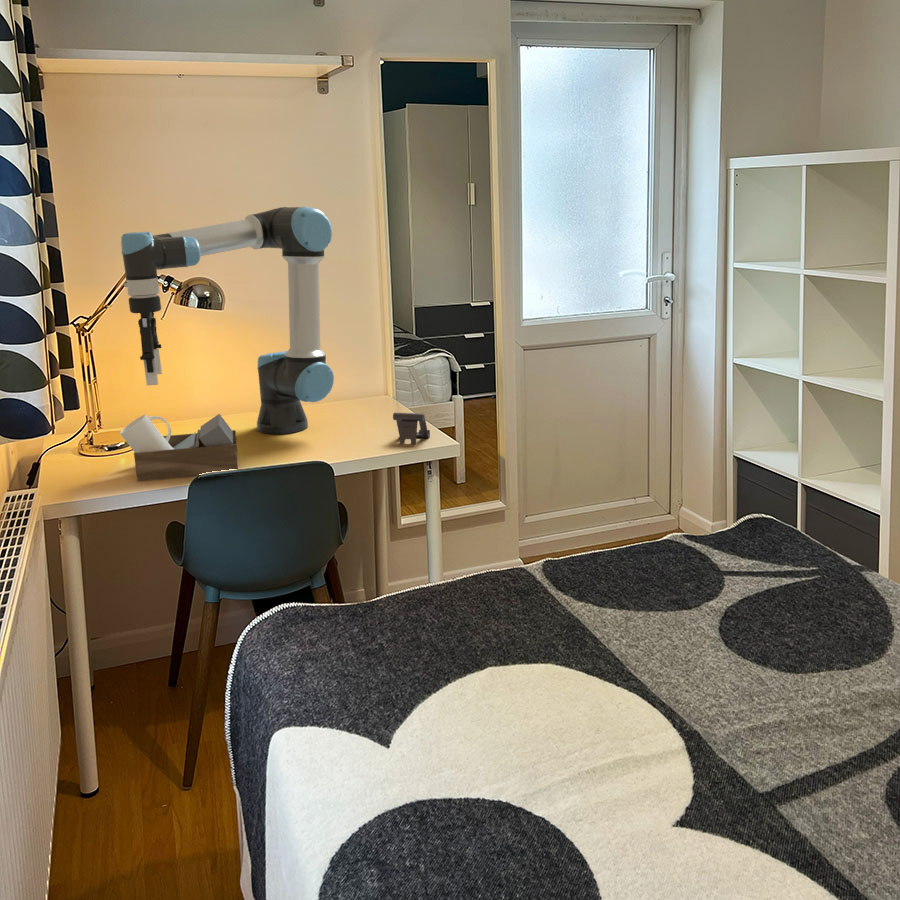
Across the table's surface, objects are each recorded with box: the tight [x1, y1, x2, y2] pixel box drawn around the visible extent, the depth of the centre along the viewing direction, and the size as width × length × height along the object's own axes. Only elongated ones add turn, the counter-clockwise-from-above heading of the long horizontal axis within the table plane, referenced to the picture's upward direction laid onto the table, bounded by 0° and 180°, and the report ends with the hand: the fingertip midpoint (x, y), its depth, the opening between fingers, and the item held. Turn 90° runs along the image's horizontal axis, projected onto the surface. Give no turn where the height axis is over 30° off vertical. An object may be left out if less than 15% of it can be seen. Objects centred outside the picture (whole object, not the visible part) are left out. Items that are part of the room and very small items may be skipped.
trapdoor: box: [173, 413, 233, 449], centre depth 258 cm, size 22×13×6 cm
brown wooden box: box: [133, 429, 239, 482], centre depth 258 cm, size 16×25×8 cm, turn 102°
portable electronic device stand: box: [392, 412, 431, 445], centre depth 278 cm, size 9×8×8 cm
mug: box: [119, 414, 174, 453], centre depth 255 cm, size 12×8×12 cm
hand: (154, 379), depth 251 cm, fingers open, 13 cm apart
